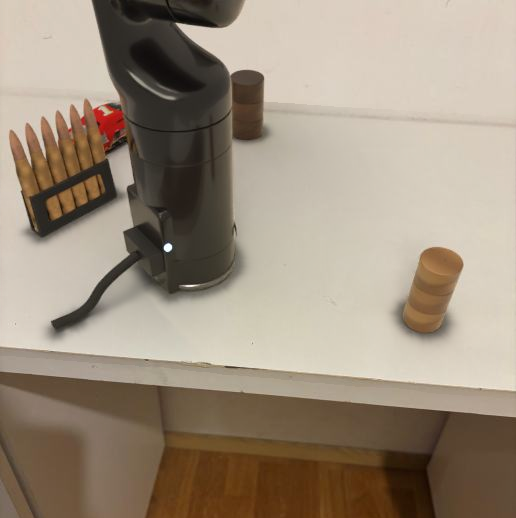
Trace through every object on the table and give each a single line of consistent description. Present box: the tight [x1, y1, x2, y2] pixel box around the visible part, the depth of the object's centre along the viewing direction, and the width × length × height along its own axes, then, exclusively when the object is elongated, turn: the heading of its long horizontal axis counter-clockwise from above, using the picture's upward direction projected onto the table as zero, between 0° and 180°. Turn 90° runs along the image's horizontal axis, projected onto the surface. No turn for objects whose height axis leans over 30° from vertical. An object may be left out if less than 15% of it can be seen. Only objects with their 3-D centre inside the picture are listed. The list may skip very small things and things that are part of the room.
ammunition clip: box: [8, 97, 118, 238], centre depth 62 cm, size 11×2×12 cm, turn 138°
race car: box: [57, 101, 127, 152], centre depth 75 cm, size 13×5×4 cm, turn 140°
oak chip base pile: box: [402, 246, 464, 334], centre depth 54 cm, size 4×4×8 cm
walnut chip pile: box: [230, 69, 265, 141], centre depth 76 cm, size 4×4×8 cm
